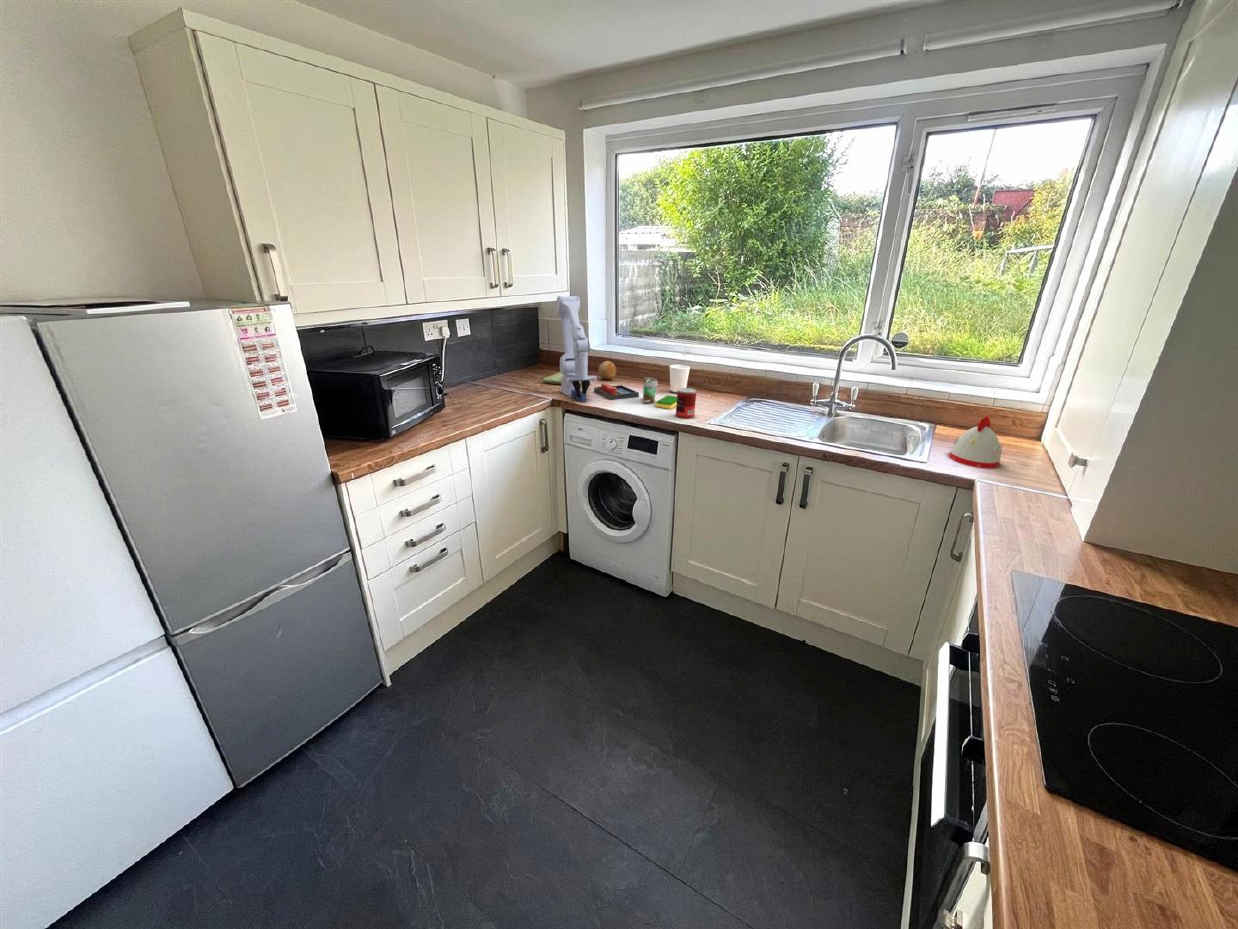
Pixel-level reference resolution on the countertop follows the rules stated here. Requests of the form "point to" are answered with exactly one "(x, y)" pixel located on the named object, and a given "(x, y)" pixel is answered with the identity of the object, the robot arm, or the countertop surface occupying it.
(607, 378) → the onion
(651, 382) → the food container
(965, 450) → the kitchen timer
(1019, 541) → the countertop surface
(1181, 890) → the countertop surface
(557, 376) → the washcloth
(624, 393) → the tray
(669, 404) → the dish sponge
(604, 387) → the red rectangular block
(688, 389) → the canned food
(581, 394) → the blue rectangular block
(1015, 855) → the countertop surface
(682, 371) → the cup
